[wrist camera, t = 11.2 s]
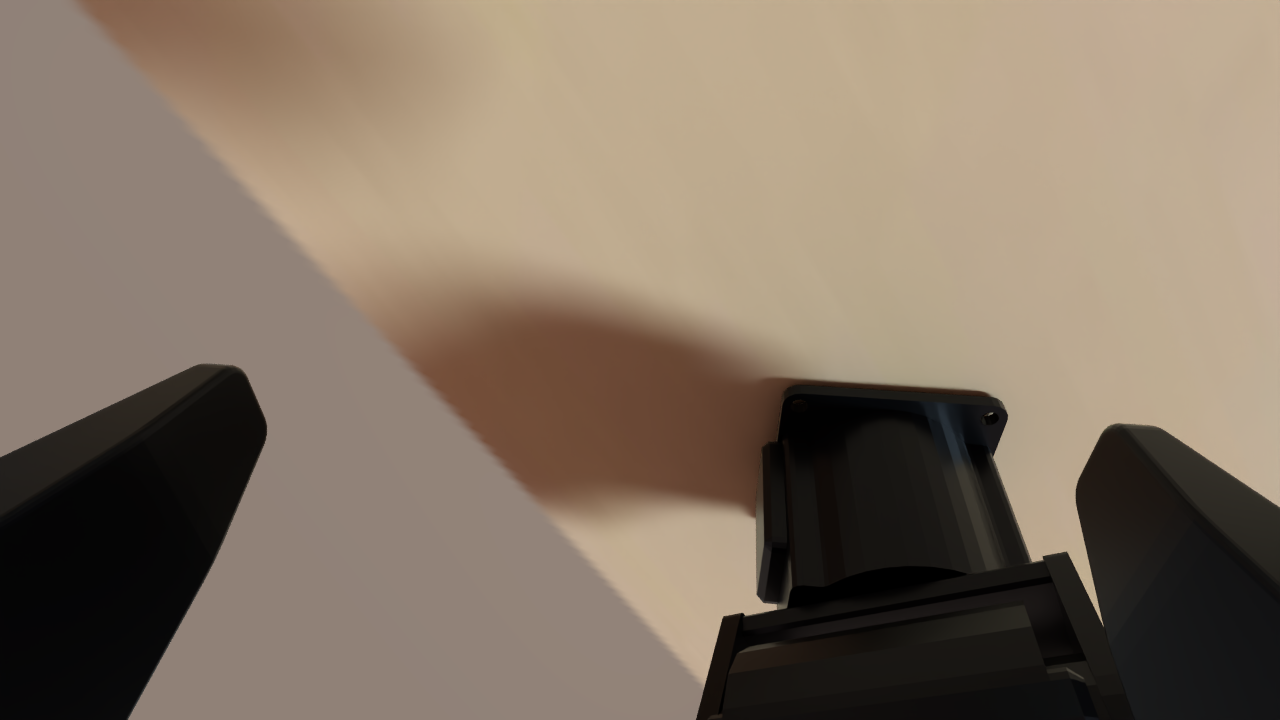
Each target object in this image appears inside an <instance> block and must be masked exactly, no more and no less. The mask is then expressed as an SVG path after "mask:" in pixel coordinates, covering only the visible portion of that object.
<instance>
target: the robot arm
mask: <svg viewBox="0 0 1280 720" xmlns="http://www.w3.org/2000/svg"><path fill="white" fill-rule="evenodd" d="M795 400H804V401H805V402H804V403H802V404H795V403H793V402H794V401H795ZM990 412H993V414H992V415H990V416H983V415H984V414H986V413H990ZM1007 420H1008V414H1007V412H1006V409H1005V407H1004V405H1003V403H1002V401H1000V400H999V399H997V398H992V397H980V396H965V395H949V394H934V393H918V392H903V391H887V390H871V389H856V388H840V387H825V386H809V385H794V386H792V387H789V388H787V389H786V390H785V391H784V393H783V395H782V400H781V407H780V414H779V422H778V429H777V436H776V442H768V443H766V444H765V445H764V446H763V447H762V451H761V459H760V467H759V476H758V484H757V492H756V580H757V596H758V597H759V598H760V599H761V600H762V602H763V603H771V604H777V610H774V611H769V612H764V613H758V614H753V615H748V616H745V615H744V614H743V613H739V614H734V615H729V616H724V617H723V619H722V623H721V626H720V630H719V634H718V638H717V642H716V645H715V649H714V653H713V657H712V661H711V665H710V668H709V672H708V676H707V680H706V684H705V688H704V691H703V695H702V699H701V703H700V707H699V710H698V714H697V718H696V720H1280V507H1278V506H1277V505H1275V504H1274V503H1272V502H1271V501H1269V500H1268V499H1266V498H1265V497H1263V496H1262V495H1260V494H1259V493H1257V492H1256V491H1254V490H1253V489H1251V488H1250V487H1248V486H1247V485H1245V484H1244V483H1242V482H1241V481H1239V480H1238V479H1236V478H1235V477H1233V476H1232V475H1230V474H1229V473H1227V472H1226V471H1224V470H1223V469H1221V468H1220V467H1218V466H1217V465H1215V464H1214V463H1212V462H1211V461H1209V460H1208V459H1206V458H1205V457H1203V456H1202V455H1200V454H1199V453H1197V452H1196V451H1194V450H1193V449H1192V448H1190V447H1189V446H1187V445H1186V444H1184V443H1183V442H1181V441H1180V440H1178V439H1177V438H1175V437H1174V436H1172V435H1171V434H1169V433H1168V432H1166V431H1164V430H1163V429H1161V428H1159V427H1156V426H1150V425H1136V424H1121V423H1118V424H1113V425H1110V426H1108V427H1107V428H1106V429H1105V430H1104V431H1103V433H1102V434H1101V436H1100V438H1099V440H1098V442H1097V444H1096V446H1095V448H1094V450H1093V452H1092V454H1091V456H1090V458H1089V460H1088V462H1087V464H1086V466H1085V468H1084V470H1083V472H1082V474H1081V476H1080V478H1079V480H1078V483H1077V487H1076V505H1077V510H1078V515H1079V519H1080V524H1081V528H1082V533H1083V537H1084V541H1085V546H1086V550H1087V555H1088V559H1089V564H1090V568H1091V572H1092V577H1093V581H1094V586H1095V590H1096V595H1097V599H1098V603H1099V608H1100V612H1101V617H1102V621H1103V625H1104V627H1103V625H1102V623H1101V621H1100V619H1099V617H1098V615H1097V613H1096V610H1095V608H1094V606H1093V604H1092V602H1091V600H1090V598H1089V596H1088V594H1087V592H1086V590H1085V588H1084V586H1083V584H1082V581H1081V579H1080V577H1079V575H1078V573H1077V571H1076V569H1075V567H1074V565H1073V563H1072V561H1071V559H1070V557H1069V555H1068V553H1067V552H1062V553H1057V554H1052V555H1046V556H1043V560H1042V561H1036V562H1032V561H1031V558H1030V555H1029V553H1028V550H1027V547H1026V545H1025V542H1024V539H1023V537H1022V534H1021V531H1020V528H1019V526H1018V523H1017V520H1016V518H1015V515H1014V512H1013V510H1012V507H1011V504H1010V502H1009V499H1008V496H1007V494H1006V491H1005V488H1004V485H1003V483H1002V480H1001V477H1000V475H999V472H998V469H997V467H996V464H995V461H994V459H993V456H994V453H995V451H996V448H997V446H998V443H999V441H1000V438H1001V435H1002V433H1003V430H1004V428H1005V425H1006V423H1007ZM266 436H267V424H266V420H265V417H264V415H263V412H262V410H261V408H260V405H259V403H258V401H257V399H256V396H255V394H254V392H253V389H252V387H251V385H250V382H249V380H248V378H247V376H246V374H245V373H244V372H243V371H242V370H241V369H240V368H238V367H236V366H233V365H221V364H199V365H196V366H193V367H191V368H189V369H187V370H185V371H183V372H181V373H178V374H176V375H174V376H172V377H170V378H168V379H166V380H164V381H161V382H159V383H157V384H155V385H153V386H151V387H149V388H147V389H145V390H143V391H140V392H138V393H136V394H134V395H132V396H130V397H128V398H126V399H123V400H122V401H119V402H117V403H115V404H113V405H111V406H109V407H107V408H104V409H102V410H100V411H98V412H96V413H94V414H91V415H89V416H87V417H85V418H83V419H81V420H79V421H77V422H74V423H72V424H70V425H68V426H66V427H64V428H62V429H60V430H58V431H56V432H53V433H51V434H49V435H47V436H45V437H43V438H41V439H39V440H37V441H34V442H32V443H30V444H28V445H26V446H24V447H21V448H19V449H17V450H15V451H13V452H11V453H9V454H7V455H4V456H2V457H0V720H128V718H129V717H130V715H131V713H132V711H133V709H134V707H135V706H136V704H137V702H138V700H139V698H140V696H141V695H142V693H143V691H144V689H145V687H146V686H147V684H148V682H149V680H150V678H151V677H152V675H153V673H154V671H155V669H156V667H157V665H158V664H159V662H160V660H161V658H162V657H163V655H164V653H165V651H166V649H167V648H168V646H169V644H170V642H171V640H172V638H173V637H174V635H175V633H176V631H177V629H178V628H179V626H180V624H181V622H182V620H183V618H184V617H185V615H186V613H187V611H188V609H189V608H190V606H191V604H192V602H193V600H194V598H195V597H196V595H197V593H198V591H199V589H200V587H201V586H202V584H203V582H204V580H205V578H206V576H207V574H208V572H209V571H210V569H211V567H212V565H213V563H214V561H215V558H216V556H217V554H218V552H219V550H220V547H221V545H222V543H223V541H224V539H225V536H226V534H227V532H228V529H229V527H230V524H231V522H232V520H233V517H234V515H235V513H236V510H237V508H238V505H239V503H240V501H241V498H242V496H243V494H244V491H245V489H246V487H247V484H248V482H249V480H250V477H251V475H252V472H253V470H254V468H255V465H256V463H257V461H258V458H259V456H260V453H261V451H262V448H263V446H264V444H265V441H266Z"/></svg>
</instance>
